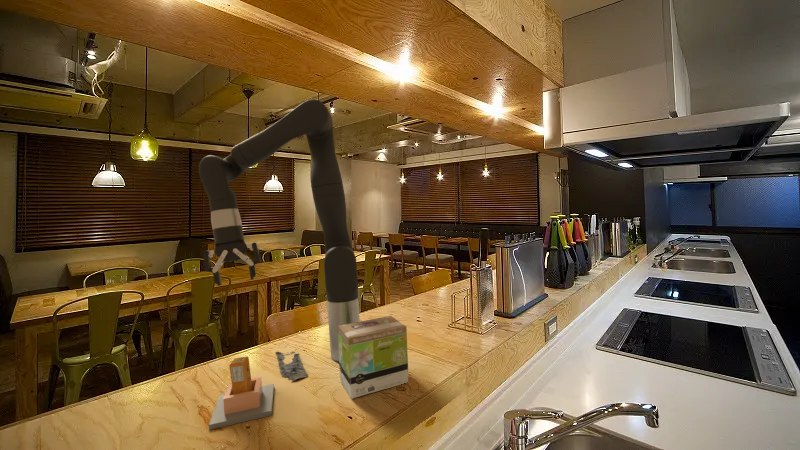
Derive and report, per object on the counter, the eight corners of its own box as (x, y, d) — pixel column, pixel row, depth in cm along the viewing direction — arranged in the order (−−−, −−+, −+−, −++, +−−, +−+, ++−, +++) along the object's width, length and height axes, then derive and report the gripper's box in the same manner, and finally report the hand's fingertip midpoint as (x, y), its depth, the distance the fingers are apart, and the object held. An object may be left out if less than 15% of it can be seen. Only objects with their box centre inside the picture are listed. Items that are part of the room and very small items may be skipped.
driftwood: (309, 380, 87) (308, 372, 87) (282, 387, 84) (281, 379, 84) (298, 352, 106) (297, 345, 106) (275, 357, 103) (275, 350, 103)
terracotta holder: (262, 391, 80) (261, 376, 80) (259, 407, 73) (258, 391, 73) (230, 397, 78) (229, 383, 77) (224, 414, 71) (223, 399, 71)
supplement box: (238, 399, 77) (234, 357, 76) (253, 397, 77) (250, 355, 77) (232, 407, 74) (228, 363, 73) (248, 405, 74) (245, 362, 73)
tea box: (351, 401, 75) (347, 338, 74) (339, 381, 84) (336, 324, 84) (410, 383, 82) (407, 324, 81) (393, 366, 91) (390, 313, 90)
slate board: (274, 387, 83) (273, 383, 83) (271, 415, 72) (271, 410, 72) (220, 398, 79) (220, 394, 79) (209, 429, 68) (208, 424, 68)
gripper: (195, 229, 89) (205, 289, 88) (252, 221, 93) (262, 278, 93) (202, 231, 96) (211, 286, 96) (255, 223, 100) (264, 276, 100)
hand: (236, 282), depth 94 cm, fingers open, 8 cm apart
